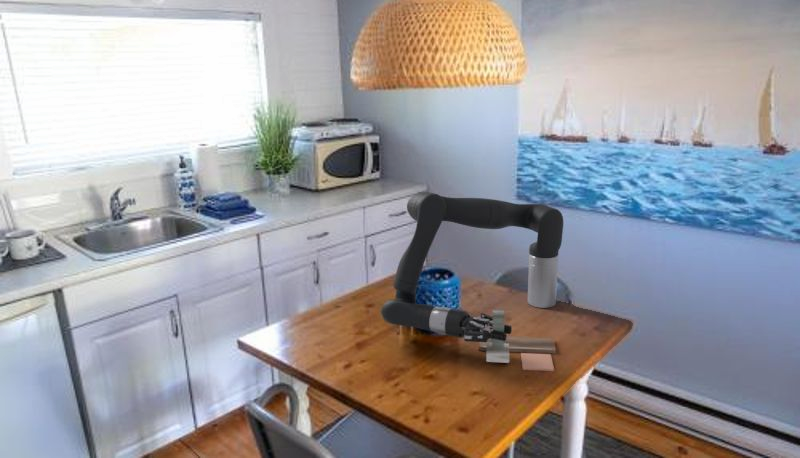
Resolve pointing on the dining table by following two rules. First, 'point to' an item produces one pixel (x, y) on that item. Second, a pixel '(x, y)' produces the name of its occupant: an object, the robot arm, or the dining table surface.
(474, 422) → the dining table surface
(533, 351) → the grey-brown board
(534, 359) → the end pad
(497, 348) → the tall grey square pillar
